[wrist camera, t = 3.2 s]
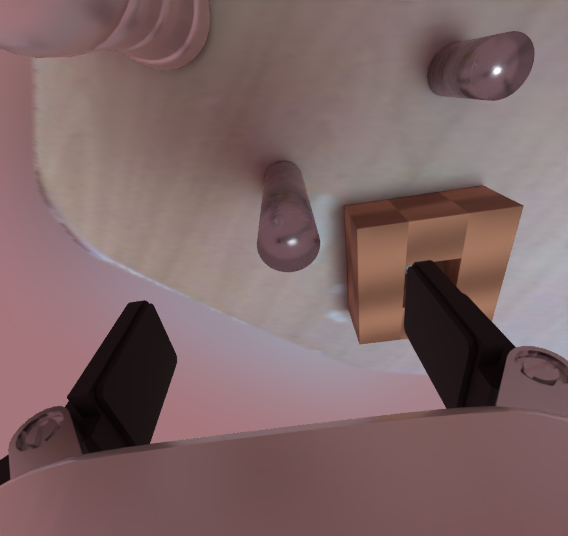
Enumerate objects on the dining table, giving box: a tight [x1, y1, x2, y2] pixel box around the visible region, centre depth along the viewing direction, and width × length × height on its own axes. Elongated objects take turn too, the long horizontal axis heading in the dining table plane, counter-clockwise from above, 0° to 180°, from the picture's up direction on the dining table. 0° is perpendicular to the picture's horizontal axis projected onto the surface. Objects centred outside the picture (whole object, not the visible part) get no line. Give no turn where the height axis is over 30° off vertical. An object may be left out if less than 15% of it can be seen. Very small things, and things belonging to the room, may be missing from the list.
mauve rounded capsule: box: [428, 31, 534, 101], centre depth 19 cm, size 3×3×6 cm
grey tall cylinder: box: [257, 161, 320, 272], centre depth 21 cm, size 3×3×12 cm
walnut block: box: [344, 186, 523, 344], centre depth 28 cm, size 12×12×5 cm
